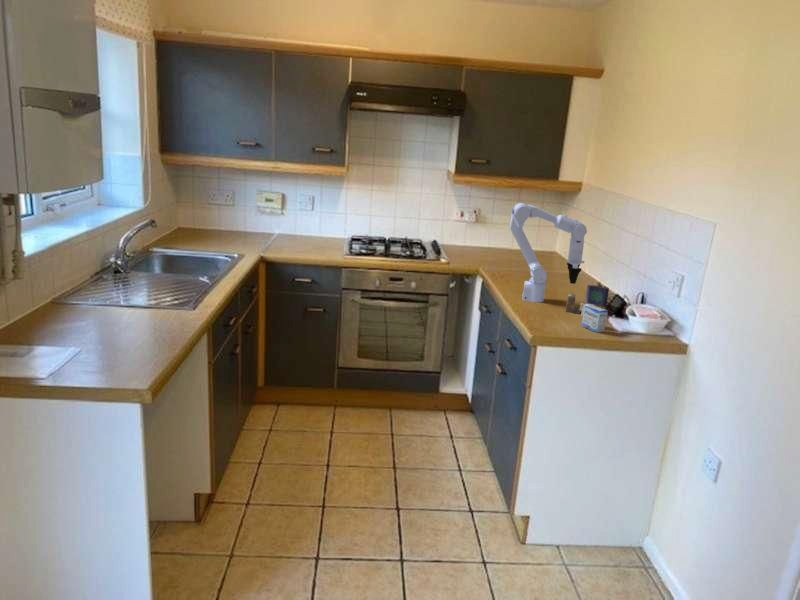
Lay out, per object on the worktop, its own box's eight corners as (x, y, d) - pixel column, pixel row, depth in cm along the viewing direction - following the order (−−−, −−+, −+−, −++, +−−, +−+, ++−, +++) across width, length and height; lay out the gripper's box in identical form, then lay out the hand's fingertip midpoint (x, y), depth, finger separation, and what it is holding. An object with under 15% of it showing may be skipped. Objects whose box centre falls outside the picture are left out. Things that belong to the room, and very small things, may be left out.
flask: (584, 304, 263) (587, 280, 260) (585, 303, 266) (589, 279, 263) (605, 308, 259) (609, 284, 256) (607, 307, 261) (610, 283, 258)
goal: (581, 316, 243) (582, 309, 242) (579, 309, 252) (580, 303, 251) (594, 317, 242) (596, 310, 241) (593, 311, 251) (594, 304, 250)
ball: (585, 303, 244) (594, 308, 244) (584, 301, 248) (593, 305, 248) (580, 312, 245) (589, 316, 245) (580, 309, 249) (588, 314, 249)
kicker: (566, 312, 246) (568, 296, 244) (565, 309, 251) (567, 293, 249) (578, 313, 245) (580, 297, 243) (577, 310, 250) (580, 294, 248)
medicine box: (580, 326, 231) (584, 305, 229) (588, 325, 233) (592, 304, 231) (596, 333, 225) (600, 311, 222) (604, 331, 227) (608, 309, 225)
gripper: (586, 254, 248) (582, 286, 251) (584, 248, 261) (580, 278, 265) (569, 253, 249) (565, 284, 253) (567, 247, 263) (564, 277, 266)
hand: (572, 281), depth 259 cm, fingers open, 7 cm apart
